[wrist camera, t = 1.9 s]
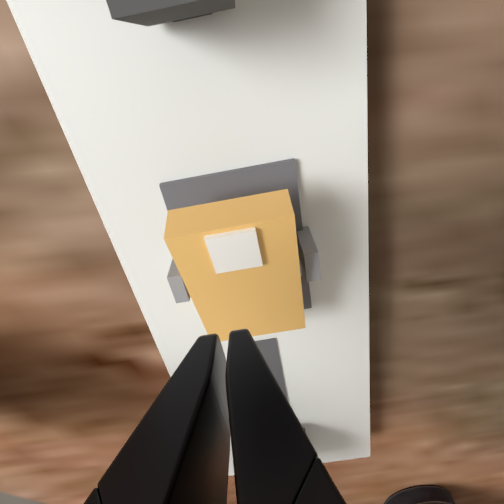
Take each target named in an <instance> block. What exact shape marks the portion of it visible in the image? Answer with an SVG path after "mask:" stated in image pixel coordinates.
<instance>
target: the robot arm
mask: <svg viewBox="0 0 504 504" xmlns="http://www.w3.org/2000/svg"><path fill="white" fill-rule="evenodd" d="M230 435H231V445H232V455H233V466H234V476H235V486H236V497H237V504H346V502H345V501H344V499H343V497H342V496H341V494H340V492H339V491H338V489H337V487H336V486H335V484H334V482H333V481H332V479H331V477H330V475H329V474H328V472H327V470H326V468H325V466H324V465H323V463H322V461H321V459H320V458H318V454H317V452H316V451H315V449H314V447H313V445H312V443H311V442H310V440H309V438H308V436H307V434H306V433H305V431H304V429H303V427H302V425H301V424H300V422H299V420H298V418H297V416H296V415H295V413H294V411H293V409H292V407H291V406H290V404H289V402H288V400H287V398H286V397H285V395H284V393H283V391H282V389H281V388H280V386H279V384H278V382H277V380H276V379H275V377H274V375H273V373H272V371H271V370H270V368H269V366H268V364H267V362H266V361H265V359H264V357H263V355H262V353H261V352H260V350H259V348H258V346H257V344H256V343H255V341H254V339H253V337H252V335H251V334H250V332H249V330H248V329H239V330H233V331H231V332H230V333H229V340H228V351H227V361H226V358H225V354H224V351H223V348H222V344H221V341H220V338H219V336H218V335H217V334H215V333H214V334H208V335H202V336H200V337H198V338H197V340H196V341H195V343H194V344H193V346H192V347H191V349H190V350H189V351H188V353H187V354H186V356H185V357H184V359H183V360H182V362H181V363H180V365H179V366H178V367H177V369H176V370H175V372H174V373H173V375H172V376H171V378H170V379H169V381H168V382H167V383H166V385H165V386H164V388H163V389H162V391H161V392H160V394H159V395H158V397H157V398H156V399H155V401H154V402H153V404H152V405H151V407H150V408H149V410H148V411H147V413H146V414H145V415H144V417H143V418H142V420H141V421H140V423H139V424H138V426H137V427H136V429H135V430H134V432H133V433H132V434H131V436H130V437H129V439H128V440H127V442H126V443H125V445H124V446H123V448H122V449H121V450H120V452H119V453H118V455H117V456H116V458H115V459H114V461H113V462H112V464H111V465H110V466H109V468H108V469H107V471H106V472H105V474H104V475H103V477H102V478H101V480H100V481H99V482H98V488H95V489H94V490H93V491H92V492H91V494H90V495H89V497H88V498H87V500H86V501H85V503H84V504H227V488H228V472H229V457H230Z"/></svg>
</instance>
